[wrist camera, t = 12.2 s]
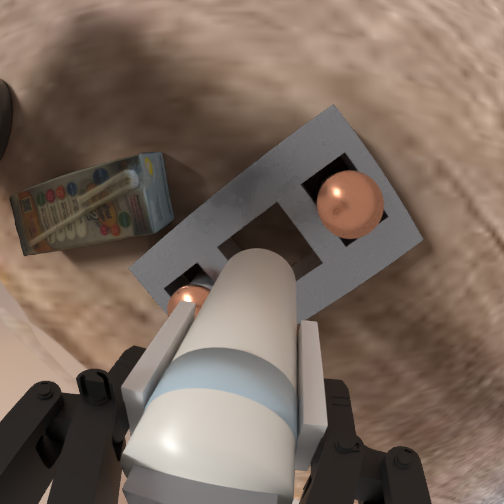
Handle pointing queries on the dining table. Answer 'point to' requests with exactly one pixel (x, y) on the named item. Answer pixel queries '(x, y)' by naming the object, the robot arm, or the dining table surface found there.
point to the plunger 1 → (192, 292)
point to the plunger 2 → (350, 204)
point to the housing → (298, 210)
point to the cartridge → (225, 397)
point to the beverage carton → (94, 205)
